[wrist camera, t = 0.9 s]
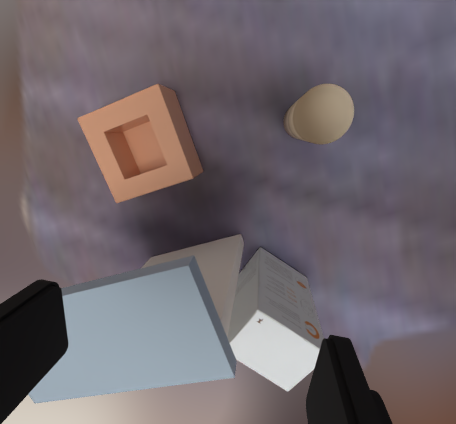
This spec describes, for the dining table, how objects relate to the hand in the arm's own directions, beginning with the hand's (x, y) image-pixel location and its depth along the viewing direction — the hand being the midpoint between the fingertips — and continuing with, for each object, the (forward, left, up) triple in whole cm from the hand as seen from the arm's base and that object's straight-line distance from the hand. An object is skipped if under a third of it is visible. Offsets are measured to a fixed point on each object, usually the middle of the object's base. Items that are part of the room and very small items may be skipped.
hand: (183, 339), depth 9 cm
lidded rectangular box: (+9, +5, -25) cm, 27 cm away
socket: (+9, -8, -25) cm, 28 cm away
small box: (0, +14, -25) cm, 29 cm away
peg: (-9, -5, -25) cm, 27 cm away
